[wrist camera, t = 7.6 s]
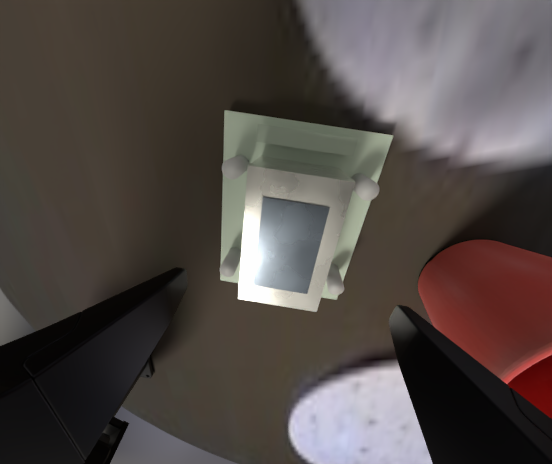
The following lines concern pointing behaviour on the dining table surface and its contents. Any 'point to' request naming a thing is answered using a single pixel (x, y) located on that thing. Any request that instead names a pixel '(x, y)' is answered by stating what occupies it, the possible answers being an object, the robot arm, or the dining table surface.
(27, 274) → the dining table surface
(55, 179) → the dining table surface
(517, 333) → the flower pot
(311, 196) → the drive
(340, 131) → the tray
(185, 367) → the dining table surface
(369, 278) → the dining table surface
